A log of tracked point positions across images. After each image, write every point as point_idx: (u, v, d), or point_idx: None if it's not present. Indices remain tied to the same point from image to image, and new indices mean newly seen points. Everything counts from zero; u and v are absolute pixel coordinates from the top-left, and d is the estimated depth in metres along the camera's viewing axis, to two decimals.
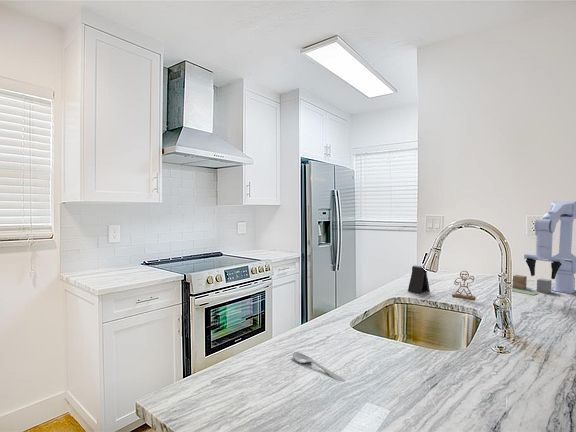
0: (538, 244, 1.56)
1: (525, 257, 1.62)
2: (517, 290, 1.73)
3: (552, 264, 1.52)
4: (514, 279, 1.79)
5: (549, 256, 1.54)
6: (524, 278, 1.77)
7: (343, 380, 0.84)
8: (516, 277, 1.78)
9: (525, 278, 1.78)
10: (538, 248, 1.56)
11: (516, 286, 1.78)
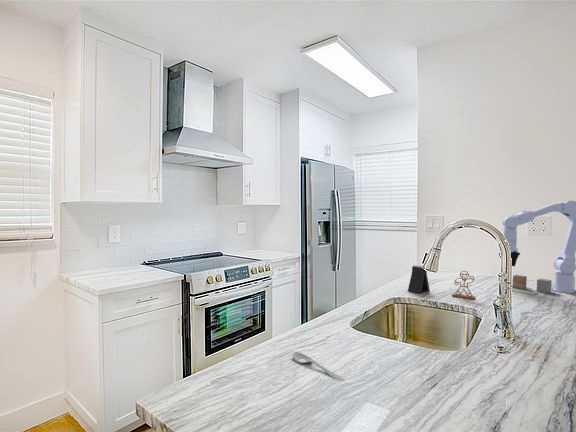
0: None
1: None
2: (517, 290, 1.73)
3: None
4: (514, 279, 1.79)
5: None
6: (524, 278, 1.77)
7: (343, 380, 0.84)
8: (516, 277, 1.78)
9: (525, 278, 1.78)
10: None
11: (516, 286, 1.78)
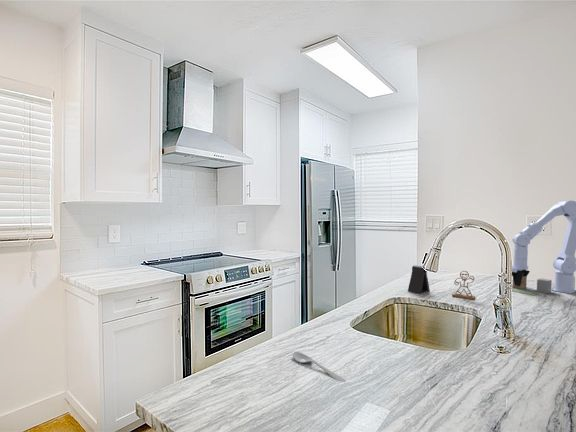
0: None
1: None
2: (517, 290, 1.73)
3: None
4: None
5: (515, 266, 1.78)
6: (524, 278, 1.77)
7: (343, 380, 0.84)
8: None
9: (525, 278, 1.78)
10: None
11: (516, 286, 1.78)
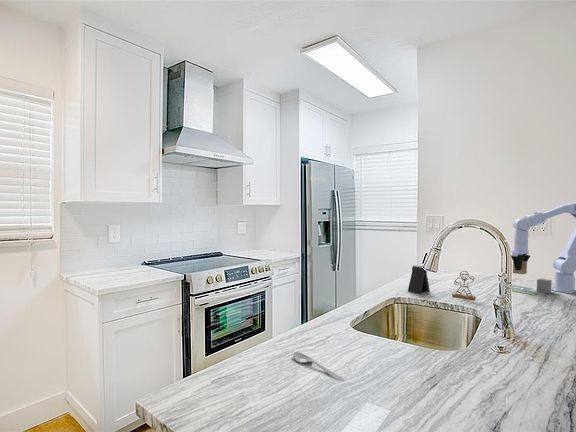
0: None
1: None
2: (517, 290, 1.73)
3: None
4: None
5: (515, 250, 1.78)
6: (524, 263, 1.77)
7: (343, 380, 0.84)
8: None
9: (525, 263, 1.78)
10: None
11: (516, 271, 1.78)
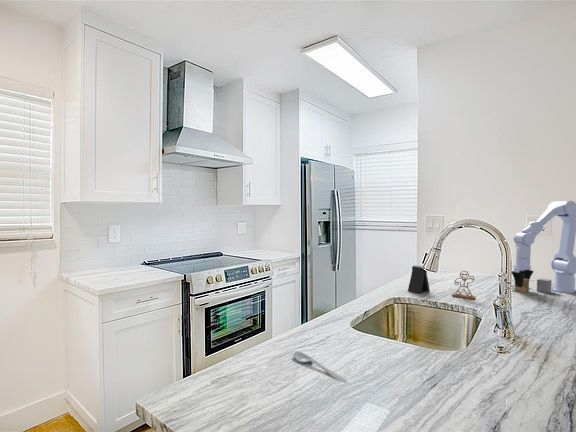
0: (516, 255, 1.72)
1: None
2: None
3: None
4: None
5: (517, 266, 1.70)
6: (526, 281, 1.69)
7: (343, 380, 0.84)
8: None
9: (527, 281, 1.70)
10: None
11: (518, 289, 1.70)
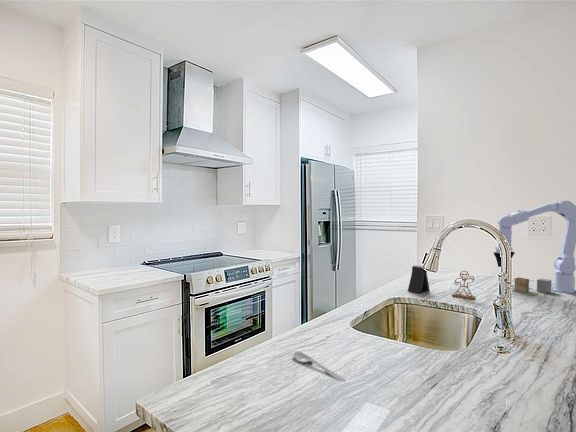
0: None
1: None
2: None
3: None
4: (516, 282, 1.71)
5: None
6: (526, 281, 1.69)
7: (343, 380, 0.84)
8: (518, 280, 1.70)
9: (527, 281, 1.70)
10: None
11: (518, 289, 1.70)
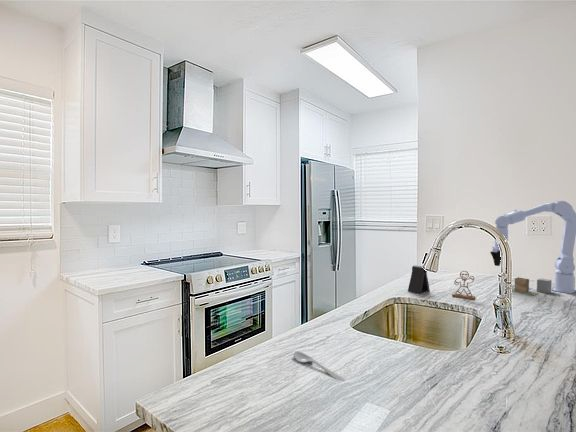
0: None
1: None
2: None
3: None
4: (516, 282, 1.71)
5: (496, 246, 1.85)
6: (526, 281, 1.69)
7: (343, 380, 0.84)
8: (518, 280, 1.70)
9: (527, 281, 1.70)
10: None
11: (518, 289, 1.70)
